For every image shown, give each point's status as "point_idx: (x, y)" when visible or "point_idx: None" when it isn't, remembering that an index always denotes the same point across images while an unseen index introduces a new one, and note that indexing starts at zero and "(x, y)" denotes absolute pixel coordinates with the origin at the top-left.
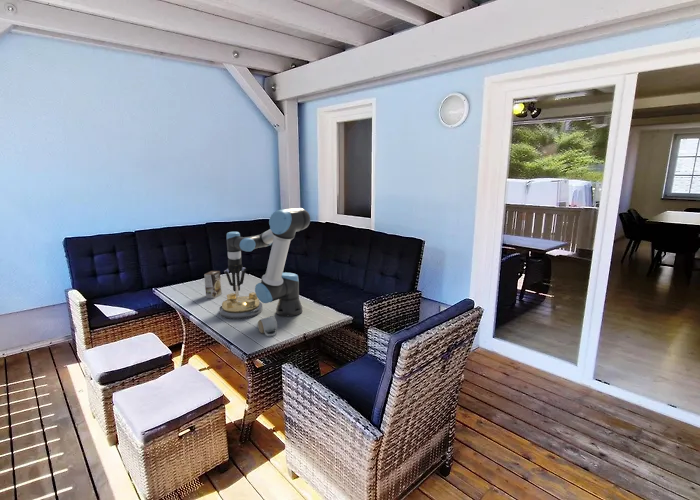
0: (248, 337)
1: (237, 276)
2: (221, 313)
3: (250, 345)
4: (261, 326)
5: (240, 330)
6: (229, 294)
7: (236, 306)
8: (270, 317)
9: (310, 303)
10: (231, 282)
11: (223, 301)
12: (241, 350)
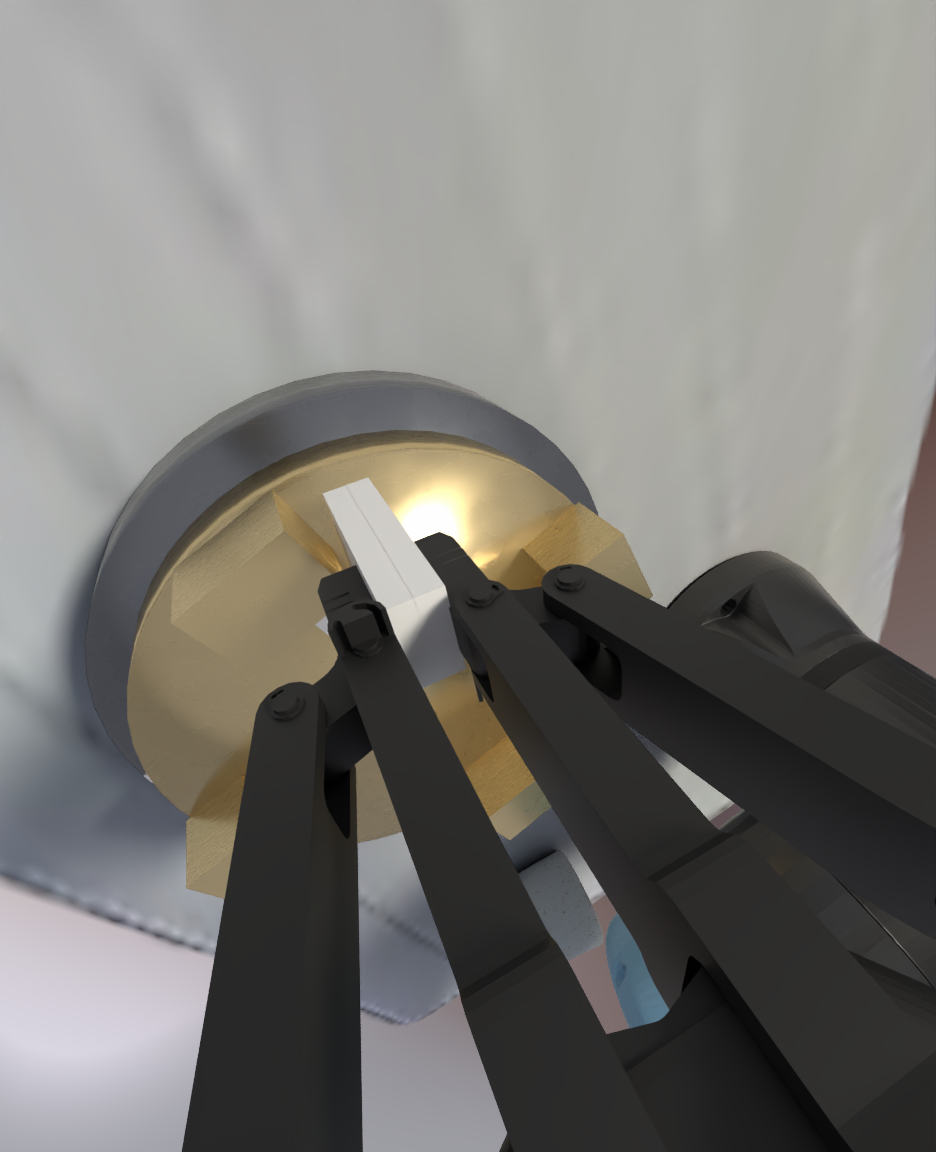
0: (420, 942)
1: (606, 890)
2: None
3: (425, 985)
4: None
5: (376, 900)
6: (230, 613)
7: (360, 793)
8: (582, 952)
9: (891, 498)
10: (348, 833)
11: (197, 880)
12: (385, 1021)
